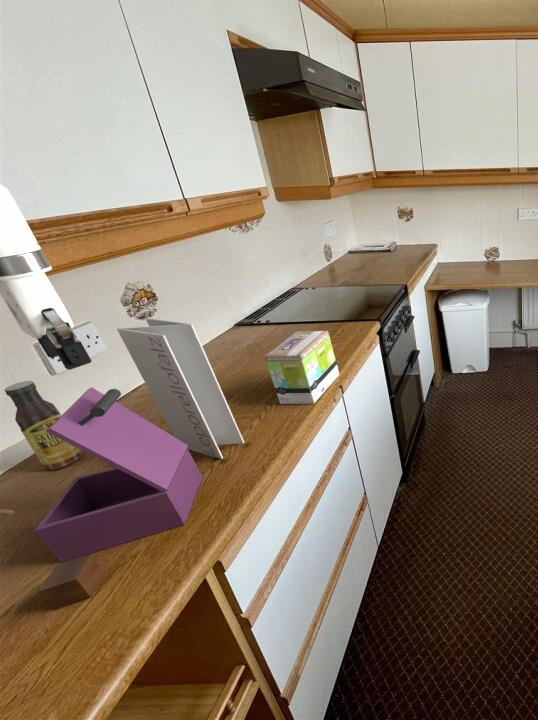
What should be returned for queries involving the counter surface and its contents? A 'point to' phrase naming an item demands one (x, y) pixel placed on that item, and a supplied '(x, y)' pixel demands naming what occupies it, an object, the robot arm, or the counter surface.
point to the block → (71, 582)
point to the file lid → (120, 438)
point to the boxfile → (116, 510)
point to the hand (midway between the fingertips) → (70, 359)
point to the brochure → (182, 384)
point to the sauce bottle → (41, 426)
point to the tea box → (302, 367)
